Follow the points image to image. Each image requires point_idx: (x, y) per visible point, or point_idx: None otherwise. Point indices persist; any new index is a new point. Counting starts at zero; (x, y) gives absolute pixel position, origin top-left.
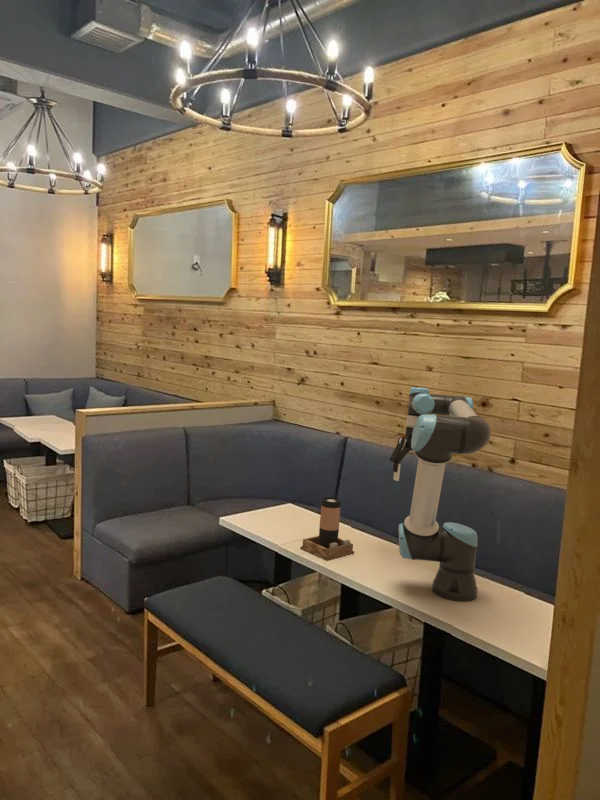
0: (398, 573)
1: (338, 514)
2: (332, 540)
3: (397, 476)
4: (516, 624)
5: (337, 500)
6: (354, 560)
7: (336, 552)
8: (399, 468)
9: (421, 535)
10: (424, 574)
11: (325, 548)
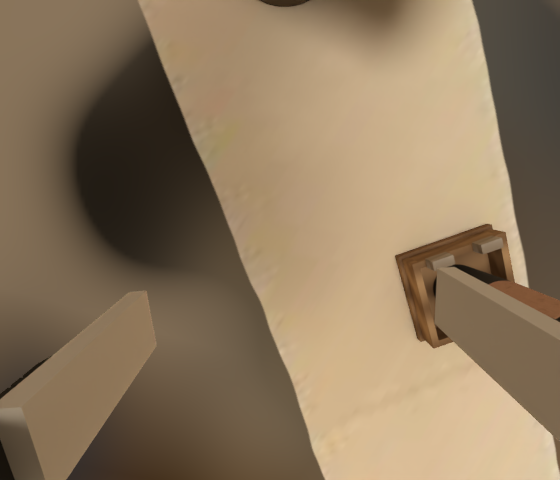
0: (357, 105)
1: (532, 305)
2: (479, 272)
3: (481, 286)
4: None
5: None
6: (418, 214)
7: (463, 241)
8: (548, 323)
9: None
10: (291, 81)
11: (503, 244)
